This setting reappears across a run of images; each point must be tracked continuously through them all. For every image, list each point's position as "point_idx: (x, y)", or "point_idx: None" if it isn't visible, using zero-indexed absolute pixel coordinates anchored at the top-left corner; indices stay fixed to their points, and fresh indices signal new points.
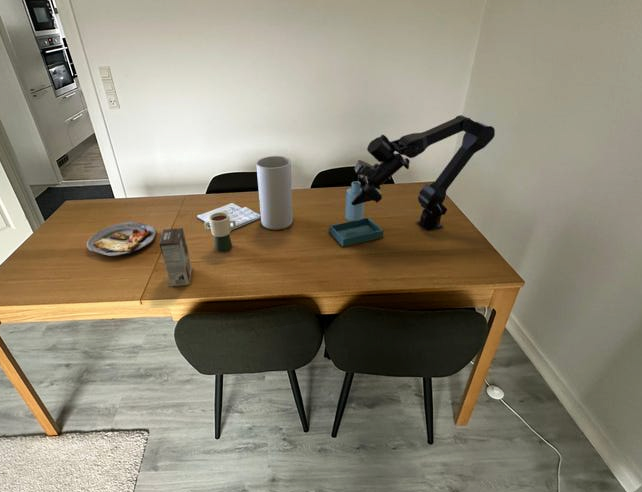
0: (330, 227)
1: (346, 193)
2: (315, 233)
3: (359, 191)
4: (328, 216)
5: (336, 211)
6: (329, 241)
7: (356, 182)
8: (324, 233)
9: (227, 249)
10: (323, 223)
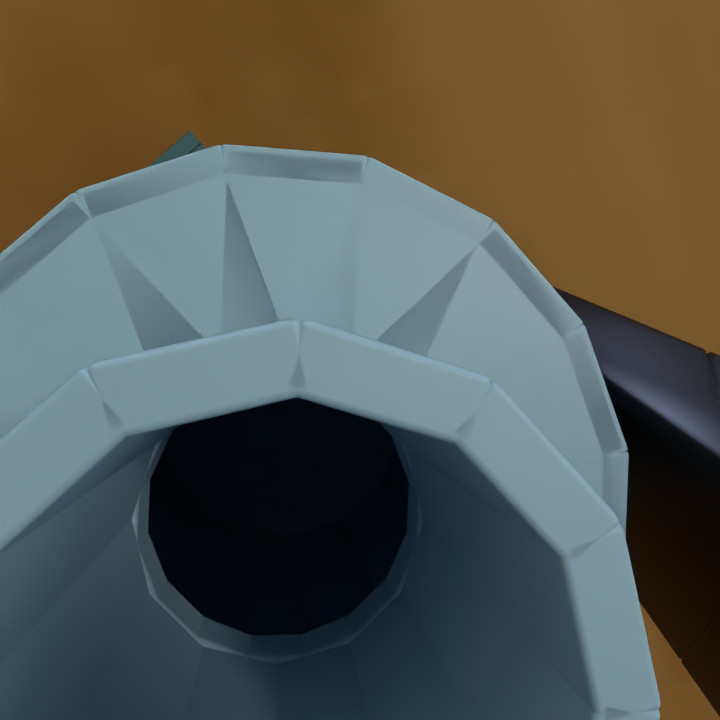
0: (170, 151)
1: (95, 204)
2: (135, 22)
3: (230, 703)
4: (534, 62)
5: (661, 116)
6: (21, 212)
7: (557, 621)
8: (168, 116)
9: None
10: (372, 49)
